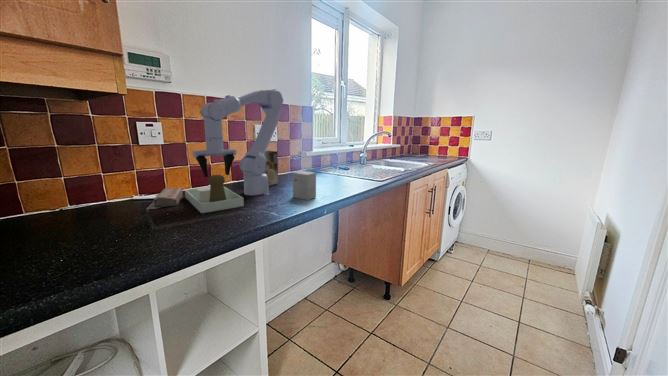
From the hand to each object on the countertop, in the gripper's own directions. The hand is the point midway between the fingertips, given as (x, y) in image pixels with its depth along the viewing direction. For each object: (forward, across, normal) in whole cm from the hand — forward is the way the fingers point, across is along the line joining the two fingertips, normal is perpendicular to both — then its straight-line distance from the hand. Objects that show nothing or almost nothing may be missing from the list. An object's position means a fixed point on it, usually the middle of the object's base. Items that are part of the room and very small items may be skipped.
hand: (216, 175), depth 102 cm
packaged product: (+11, -15, +9) cm, 20 cm away
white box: (+9, -2, +4) cm, 10 cm away
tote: (+10, -2, -1) cm, 11 cm away
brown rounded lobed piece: (+10, -2, -8) cm, 12 cm away
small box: (+10, +31, -12) cm, 35 cm away
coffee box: (+10, +29, +18) cm, 36 cm away
